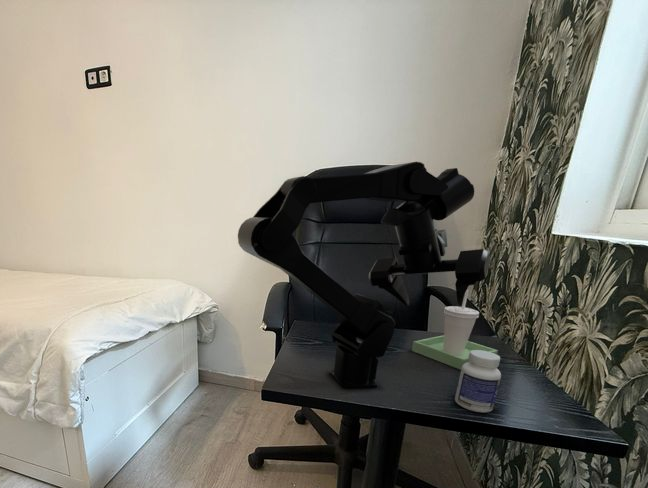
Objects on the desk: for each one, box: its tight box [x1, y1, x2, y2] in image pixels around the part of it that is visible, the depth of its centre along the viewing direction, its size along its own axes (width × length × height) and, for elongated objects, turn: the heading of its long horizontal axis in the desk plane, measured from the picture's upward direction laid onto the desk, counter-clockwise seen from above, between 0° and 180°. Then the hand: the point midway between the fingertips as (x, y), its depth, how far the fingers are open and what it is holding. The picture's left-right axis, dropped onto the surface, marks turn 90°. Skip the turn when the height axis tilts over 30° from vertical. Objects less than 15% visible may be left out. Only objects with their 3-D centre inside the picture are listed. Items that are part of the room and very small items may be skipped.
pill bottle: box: [454, 350, 502, 414], centre depth 57 cm, size 5×5×9 cm
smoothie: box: [443, 289, 480, 355], centre depth 76 cm, size 6×6×14 cm
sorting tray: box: [411, 334, 499, 371], centre depth 78 cm, size 12×11×2 cm
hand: (433, 304), depth 69 cm, fingers open, 9 cm apart
